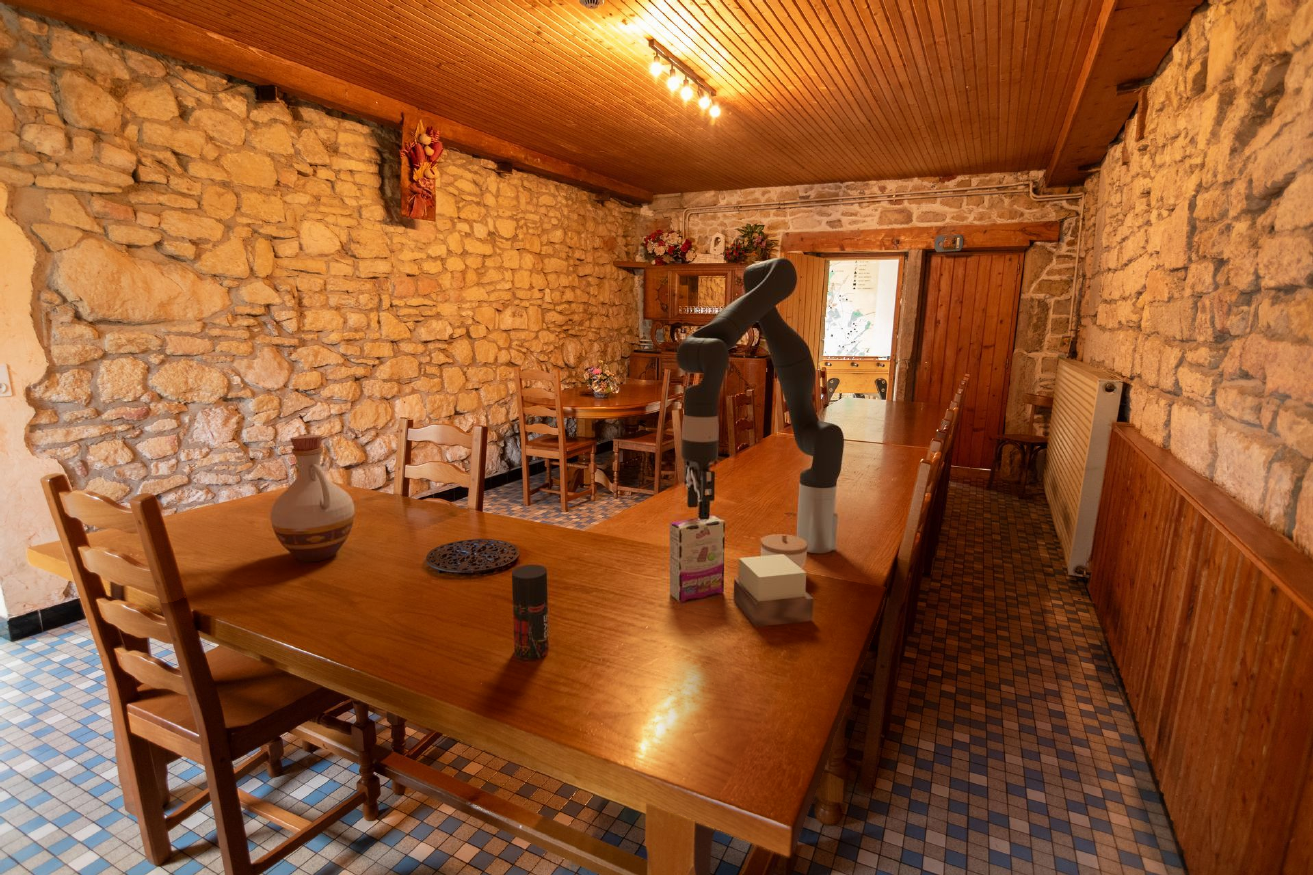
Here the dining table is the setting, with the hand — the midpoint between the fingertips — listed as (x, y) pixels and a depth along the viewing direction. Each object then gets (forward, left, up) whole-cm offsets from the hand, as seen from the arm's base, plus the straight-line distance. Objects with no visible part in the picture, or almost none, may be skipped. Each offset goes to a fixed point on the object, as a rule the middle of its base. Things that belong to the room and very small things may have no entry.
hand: (697, 512), depth 129 cm
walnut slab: (-13, +10, -19) cm, 25 cm away
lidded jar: (-23, -7, -18) cm, 30 cm away
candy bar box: (0, 0, -18) cm, 18 cm away
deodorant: (+35, +17, -18) cm, 43 cm away
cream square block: (-13, +10, -14) cm, 21 cm away
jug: (+85, -38, -18) cm, 95 cm away
